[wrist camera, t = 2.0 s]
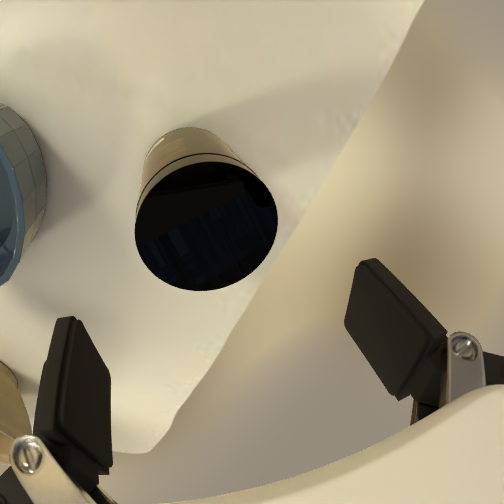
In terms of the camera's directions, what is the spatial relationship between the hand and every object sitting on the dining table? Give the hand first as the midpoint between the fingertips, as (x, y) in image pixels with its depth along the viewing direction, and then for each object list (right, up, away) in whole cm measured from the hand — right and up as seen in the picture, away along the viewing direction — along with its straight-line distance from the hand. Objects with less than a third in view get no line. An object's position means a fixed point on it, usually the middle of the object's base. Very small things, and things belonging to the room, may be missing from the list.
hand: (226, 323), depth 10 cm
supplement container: (-4, +9, +13) cm, 16 cm away
